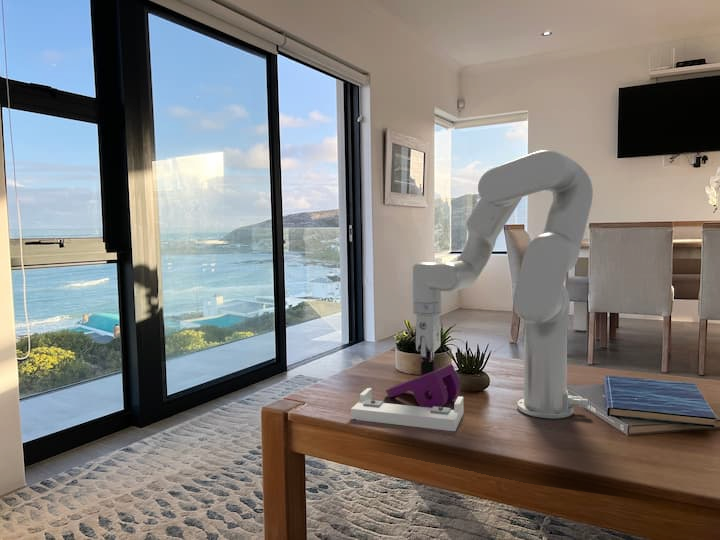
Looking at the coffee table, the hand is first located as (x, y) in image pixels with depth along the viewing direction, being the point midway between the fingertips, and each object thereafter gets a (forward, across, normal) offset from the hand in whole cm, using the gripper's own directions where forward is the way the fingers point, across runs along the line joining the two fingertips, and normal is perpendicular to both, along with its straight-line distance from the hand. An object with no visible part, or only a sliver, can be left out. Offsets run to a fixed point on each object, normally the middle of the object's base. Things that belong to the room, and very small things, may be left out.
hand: (427, 374), depth 139 cm
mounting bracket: (+5, -9, 0) cm, 10 cm away
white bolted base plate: (+4, -21, 0) cm, 22 cm away
